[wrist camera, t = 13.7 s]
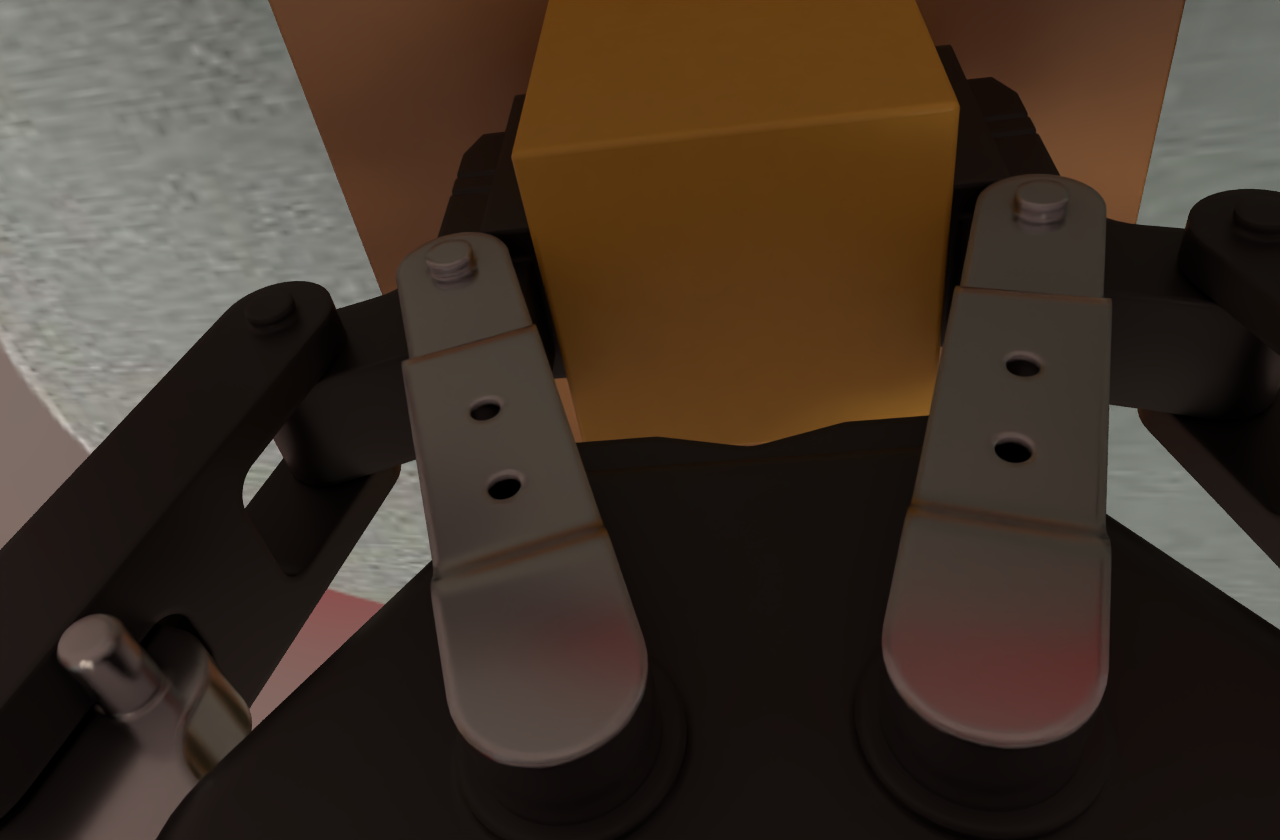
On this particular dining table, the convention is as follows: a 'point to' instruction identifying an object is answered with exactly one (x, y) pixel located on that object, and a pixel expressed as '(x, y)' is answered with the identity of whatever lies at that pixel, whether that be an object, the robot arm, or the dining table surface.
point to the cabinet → (505, 51)
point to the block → (740, 212)
